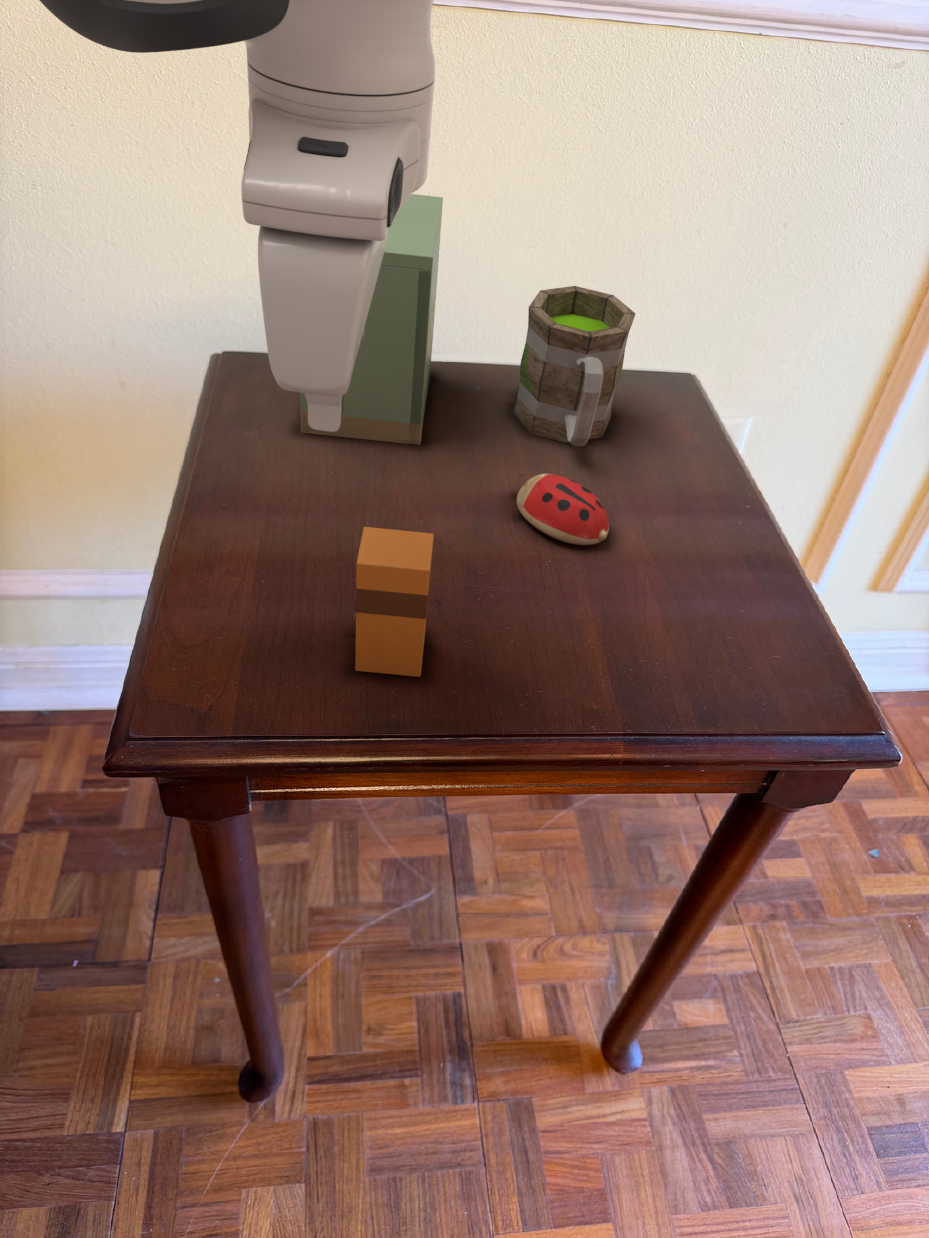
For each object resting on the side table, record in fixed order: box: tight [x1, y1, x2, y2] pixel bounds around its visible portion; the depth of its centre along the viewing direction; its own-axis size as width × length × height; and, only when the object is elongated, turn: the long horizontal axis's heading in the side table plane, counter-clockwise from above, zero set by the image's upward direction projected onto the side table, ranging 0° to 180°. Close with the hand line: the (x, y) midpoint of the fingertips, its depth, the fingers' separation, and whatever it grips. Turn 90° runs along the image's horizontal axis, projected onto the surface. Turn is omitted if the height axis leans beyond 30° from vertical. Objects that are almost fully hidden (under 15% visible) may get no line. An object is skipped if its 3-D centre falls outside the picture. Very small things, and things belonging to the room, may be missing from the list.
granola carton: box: [354, 526, 435, 678], centre depth 66 cm, size 5×4×11 cm
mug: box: [512, 285, 636, 447], centre depth 91 cm, size 16×11×12 cm
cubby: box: [299, 193, 444, 446], centre depth 88 cm, size 12×14×19 cm
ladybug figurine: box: [516, 473, 610, 546], centre depth 82 cm, size 7×10×4 cm
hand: (337, 381), depth 54 cm, fingers open, 8 cm apart
